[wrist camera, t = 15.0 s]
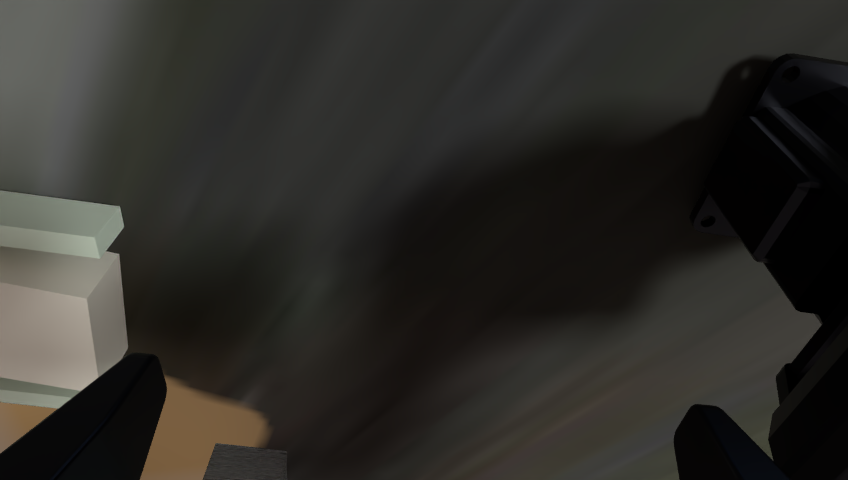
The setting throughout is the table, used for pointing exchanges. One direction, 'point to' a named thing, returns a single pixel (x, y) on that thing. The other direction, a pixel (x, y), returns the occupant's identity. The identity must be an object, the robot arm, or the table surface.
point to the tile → (60, 317)
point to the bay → (58, 233)
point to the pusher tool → (246, 463)
